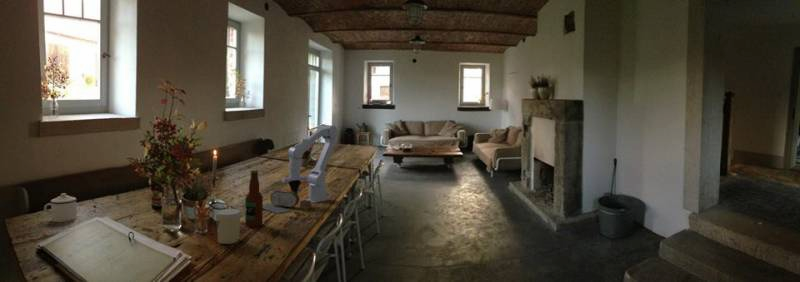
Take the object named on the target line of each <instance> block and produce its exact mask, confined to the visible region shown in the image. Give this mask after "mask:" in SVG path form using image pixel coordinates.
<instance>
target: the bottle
mask: <svg viewBox="0 0 800 282" xmlns="http://www.w3.org/2000/svg"><path fill="white" fill-rule="evenodd" d="M258 176H259V170H256V169H255V170H250V180H249V185H248V193H247V195H246V196H245V199H244V200H245V204H244V205H245V209H244V210H245V211H244V212H245V215H244V217H245V224H244V225H245V226H246V227H249V228H258V227H261V225H262V224H263V210H264V209H263V205H264V204H263V202H264V201H263V198H264V197H263V195H262V193H261V192H260V182H259V177H258Z"/></svg>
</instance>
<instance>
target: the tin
mask: <svg viewBox="0 0 800 282" xmlns="http://www.w3.org/2000/svg"><path fill="white" fill-rule="evenodd" d="M297 193H298V192H297ZM297 193H295V192H293V191H292V190H284V189H283V190H282V189H276V190H274V191H273V192H272V193H271V195H270V202H271V204H274V205H275V206H280V207H282V208H294V207H296V206H297V205H298V204H300V197H299V195H298V194H297Z"/></svg>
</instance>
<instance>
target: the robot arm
mask: <svg viewBox="0 0 800 282" xmlns="http://www.w3.org/2000/svg"><path fill="white" fill-rule="evenodd" d="M338 134H339V130H338V128H337V126H336V125H329V124H325V123H324V124H320V125H319V126H318V127H317V129H316V130H315V131H314V132H313V133H312V134H311V135H310V136H309V137H308V138H302V139H300V141H299V142H298V143H297V144H295V145H294V146H292V147H290V148H289V149H288V151H287V152H286V153H287V156H288V160H289V174H288V177H285V178H282V179H281V181H282V183H284V184H286V183H287V184H288V185H289V187H290V191H293V192H295V193H298V191H299V188H300V186H301V184H302V181H307V183H308V188H309V189H308V192H309V194H308V198H306V199H305V200H309V201H311V203H313V204H316V203H320V202H325V201H328V199H327V186H326V185H325V183H326V177H327V172H326V171H325V170H326V168H327V165H328V163H329V160H330V158H331V156H332V153H333V150H334V148H335V145H336V142H337V137H338ZM320 138H323V140H324V141H325V143H324V146H323V147H322V150H321V153H320V154H319V157H318V160H317V162H316V165H315V167H314V168H312V169H310V172H309V173H308V174H307V175H301V164H302V163H301V159H302V157H304V156H303V155H304V154H305V153H306V151H308V150H309V149H310V148H312V144H313V143H315V142H316V141H318V140H319V139H320Z"/></svg>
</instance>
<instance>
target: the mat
mask: <svg viewBox="0 0 800 282" xmlns="http://www.w3.org/2000/svg"><path fill="white" fill-rule="evenodd" d="M263 210H265V211H269V212H270V213H274V214H276V215H280V214H284V213H285V214H286V213H290V212H292V210H291V209H289V208H286V207H282V206H275V205H274V204H273V203H267V204H263Z"/></svg>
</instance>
